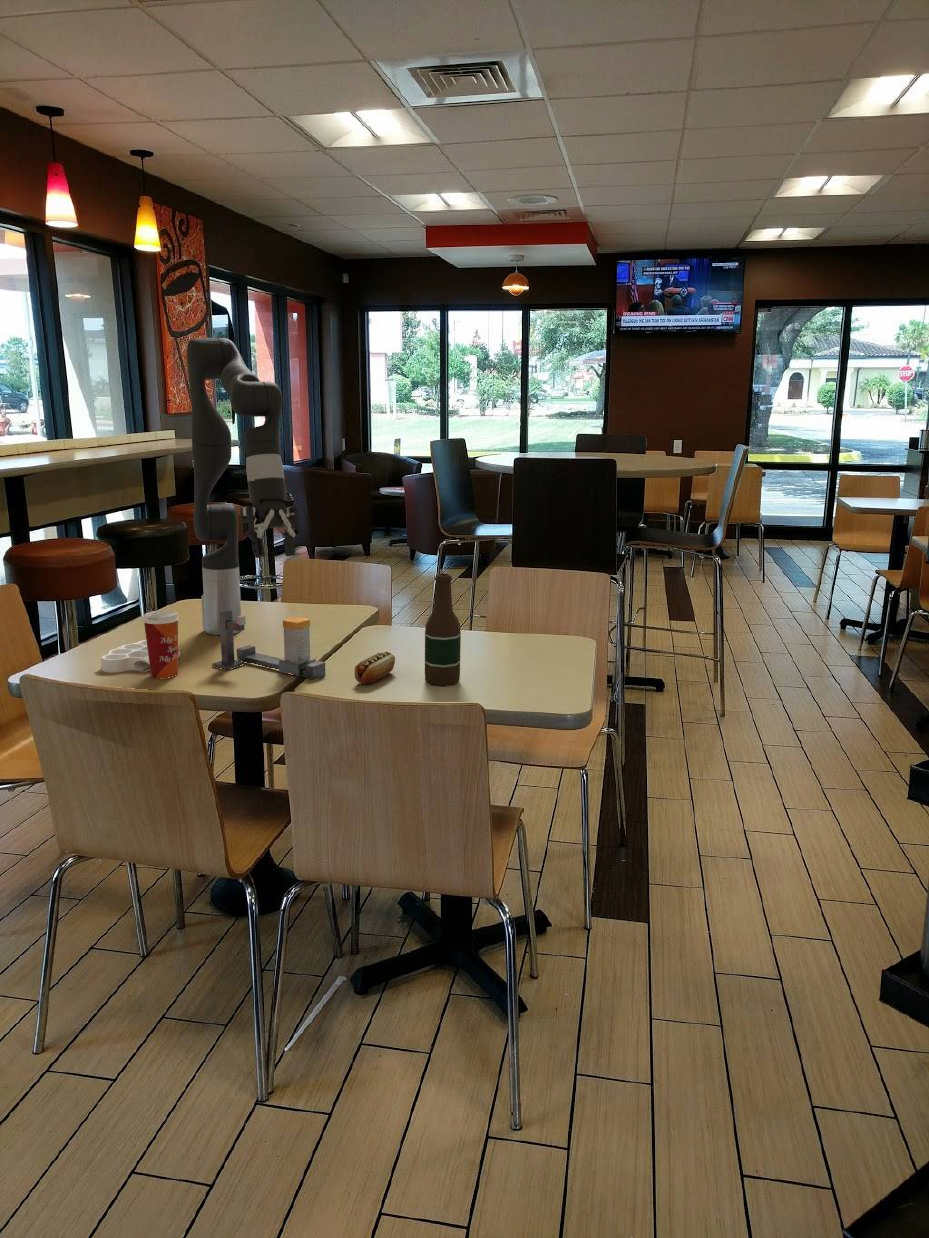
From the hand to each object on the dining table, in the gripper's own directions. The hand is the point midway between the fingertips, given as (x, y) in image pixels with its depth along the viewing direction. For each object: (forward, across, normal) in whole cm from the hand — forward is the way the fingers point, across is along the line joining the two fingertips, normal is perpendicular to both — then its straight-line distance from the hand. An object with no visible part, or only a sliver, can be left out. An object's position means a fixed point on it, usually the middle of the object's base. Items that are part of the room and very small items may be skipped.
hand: (275, 556), depth 190 cm
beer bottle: (+31, -27, +19) cm, 45 cm away
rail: (+24, -12, -15) cm, 31 cm away
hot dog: (+29, -20, +7) cm, 35 cm away
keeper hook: (+23, -6, -24) cm, 34 cm away
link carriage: (+26, -12, -10) cm, 30 cm away
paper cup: (+23, +7, -31) cm, 40 cm away
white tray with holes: (+20, +4, -44) cm, 49 cm away
